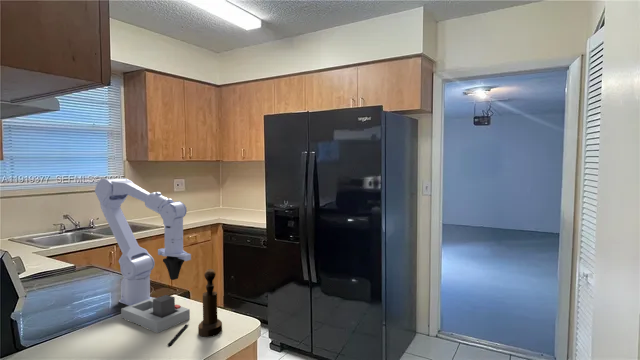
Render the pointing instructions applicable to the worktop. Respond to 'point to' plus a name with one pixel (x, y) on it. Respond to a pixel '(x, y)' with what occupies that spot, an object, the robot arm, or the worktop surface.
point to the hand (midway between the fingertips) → (174, 278)
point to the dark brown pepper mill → (210, 309)
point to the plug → (163, 306)
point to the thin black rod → (177, 335)
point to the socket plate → (153, 316)
